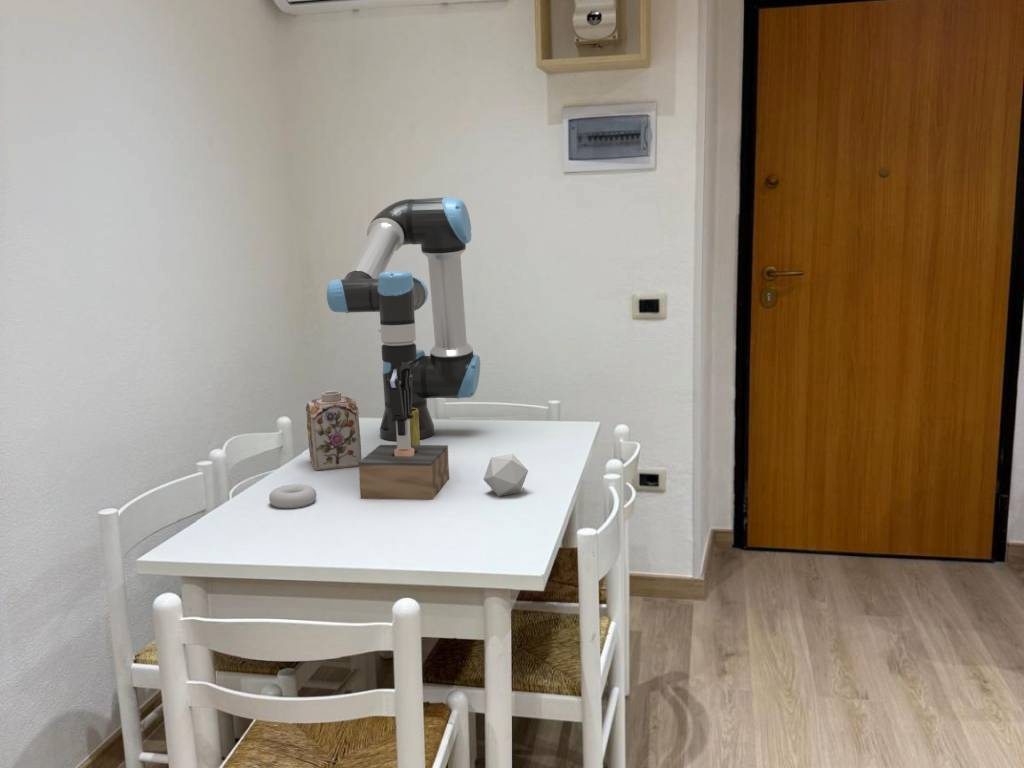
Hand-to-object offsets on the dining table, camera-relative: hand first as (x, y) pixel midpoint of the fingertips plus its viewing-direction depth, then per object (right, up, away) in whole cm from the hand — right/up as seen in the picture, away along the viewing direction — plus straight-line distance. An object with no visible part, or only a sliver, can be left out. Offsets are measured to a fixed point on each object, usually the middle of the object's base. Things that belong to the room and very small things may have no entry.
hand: (404, 448), depth 213 cm
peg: (0, -8, +1) cm, 8 cm away
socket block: (0, -9, +2) cm, 9 cm away
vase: (-1, -6, +20) cm, 21 cm away
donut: (-23, -12, -6) cm, 27 cm away
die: (+23, -9, -4) cm, 25 cm away
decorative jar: (-20, -6, +26) cm, 33 cm away
